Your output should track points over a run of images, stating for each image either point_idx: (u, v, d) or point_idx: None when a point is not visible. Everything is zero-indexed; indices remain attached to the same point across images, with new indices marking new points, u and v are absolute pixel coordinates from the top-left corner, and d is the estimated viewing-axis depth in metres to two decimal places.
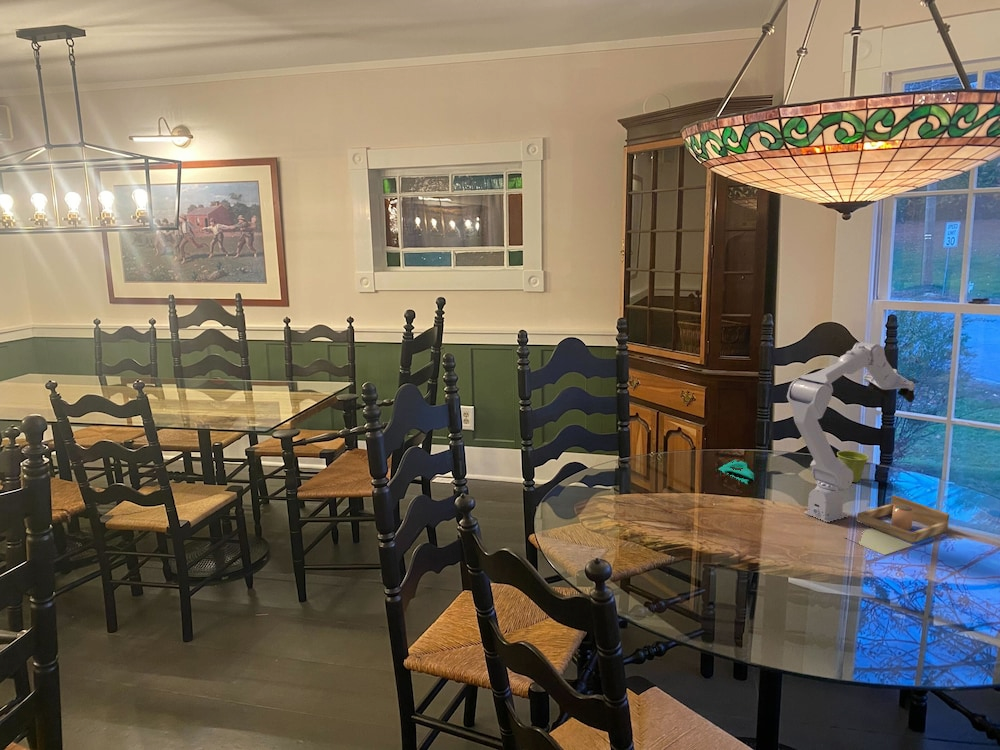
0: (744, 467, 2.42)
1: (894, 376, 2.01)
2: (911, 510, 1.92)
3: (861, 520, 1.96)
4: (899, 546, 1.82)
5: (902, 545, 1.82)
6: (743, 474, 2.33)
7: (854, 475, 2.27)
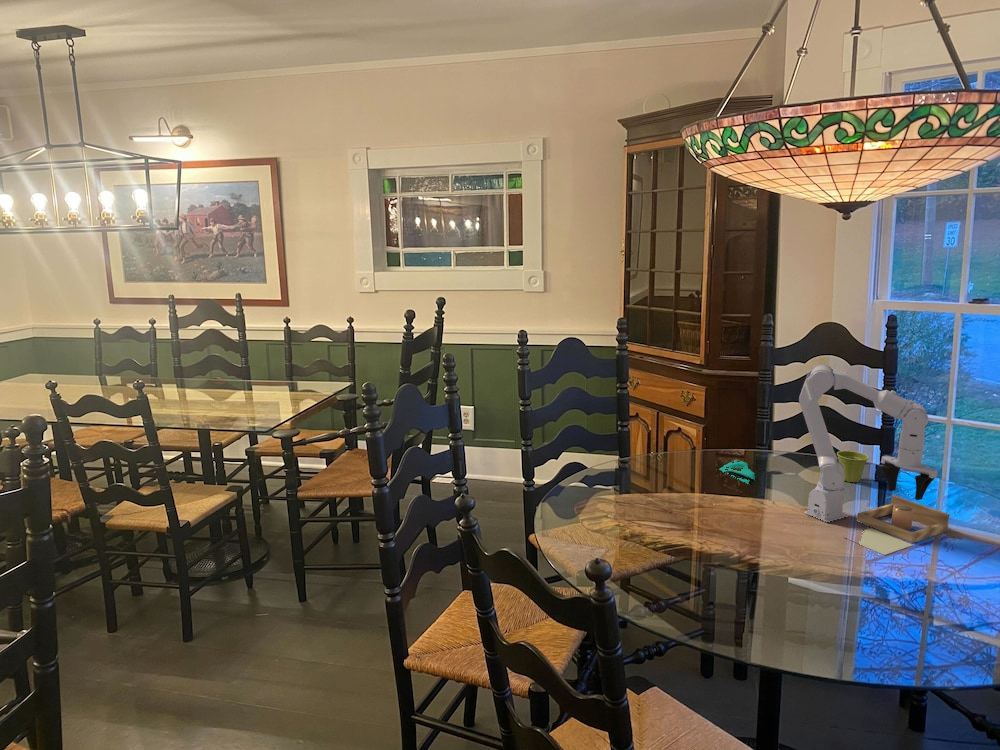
0: (745, 467, 2.42)
1: (920, 459, 1.88)
2: (911, 510, 1.92)
3: (861, 520, 1.96)
4: (899, 546, 1.82)
5: (902, 545, 1.82)
6: (744, 474, 2.33)
7: (854, 475, 2.27)
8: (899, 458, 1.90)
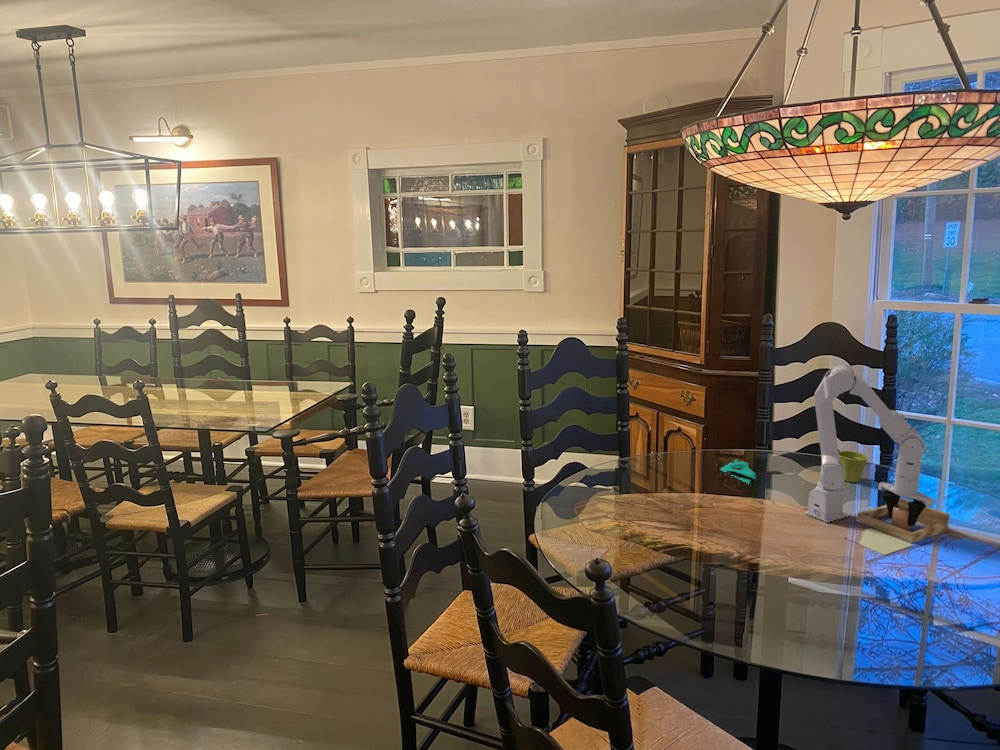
0: (745, 467, 2.42)
1: (917, 486, 1.90)
2: None
3: (861, 520, 1.96)
4: (899, 546, 1.82)
5: (902, 545, 1.82)
6: (745, 474, 2.33)
7: (854, 475, 2.27)
8: (896, 485, 1.92)
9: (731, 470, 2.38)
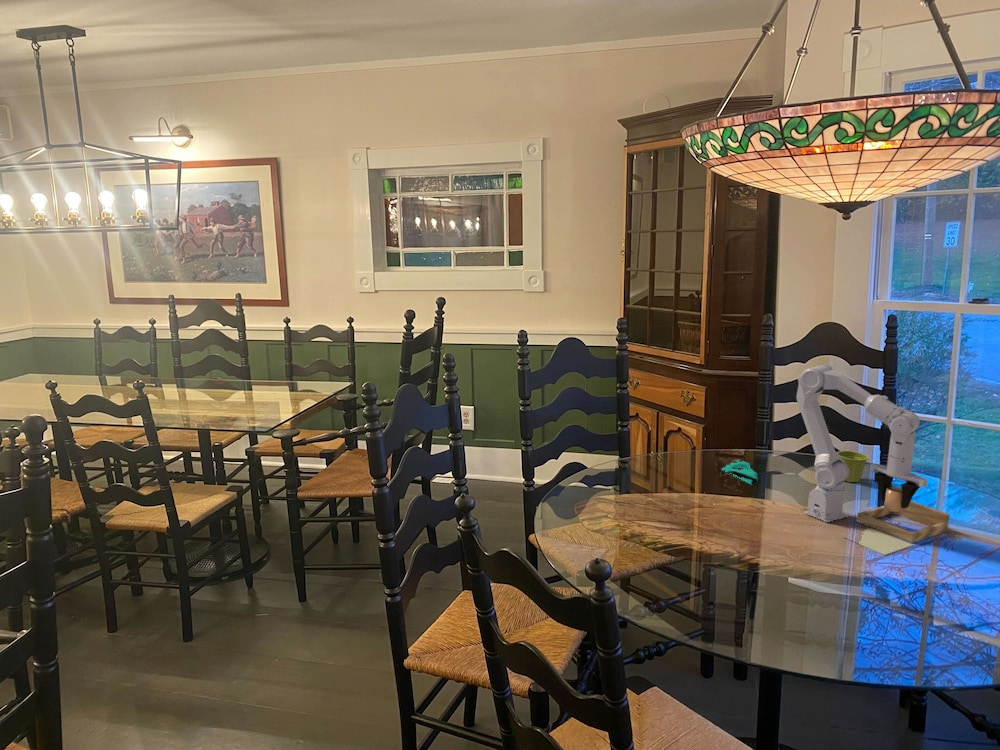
0: (747, 467, 2.42)
1: (910, 467, 1.84)
2: None
3: (861, 520, 1.96)
4: (899, 546, 1.82)
5: (902, 545, 1.82)
6: (747, 474, 2.33)
7: (854, 475, 2.27)
8: (889, 467, 1.87)
9: (733, 470, 2.38)
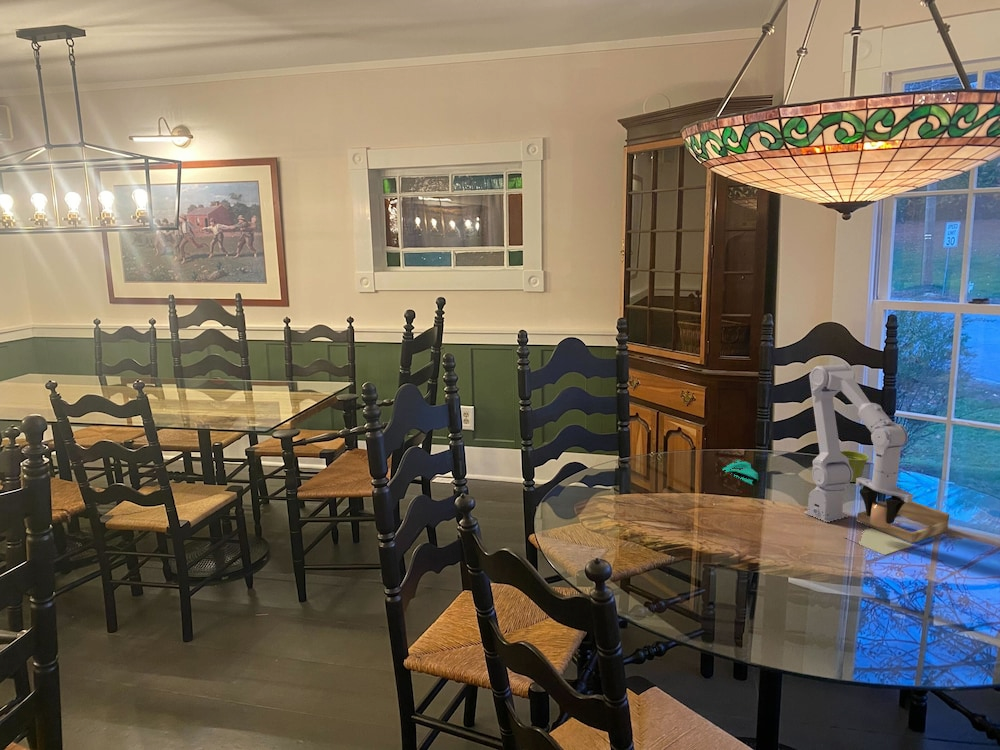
0: (748, 467, 2.42)
1: (895, 482, 1.79)
2: None
3: (861, 520, 1.96)
4: (899, 546, 1.82)
5: (902, 545, 1.82)
6: (747, 474, 2.33)
7: (854, 475, 2.27)
8: (873, 481, 1.82)
9: (733, 470, 2.38)
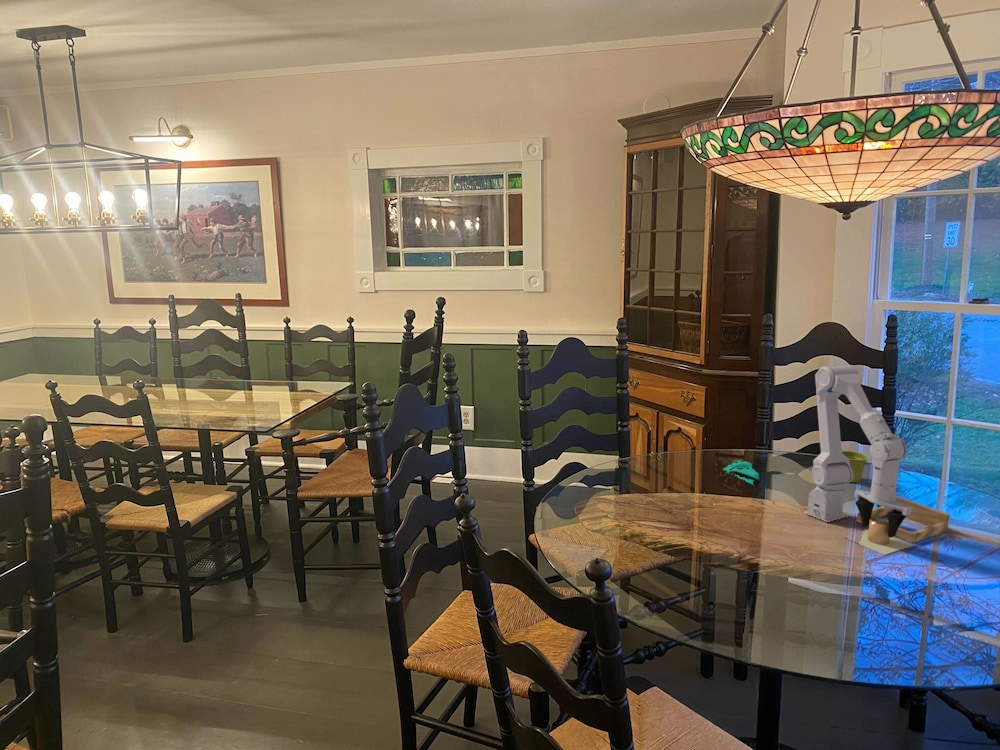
0: (749, 467, 2.42)
1: (894, 495, 1.80)
2: (888, 523, 1.82)
3: (861, 520, 1.96)
4: (899, 546, 1.82)
5: (902, 545, 1.82)
6: (748, 474, 2.33)
7: (854, 475, 2.27)
8: (872, 493, 1.82)
9: (734, 470, 2.38)
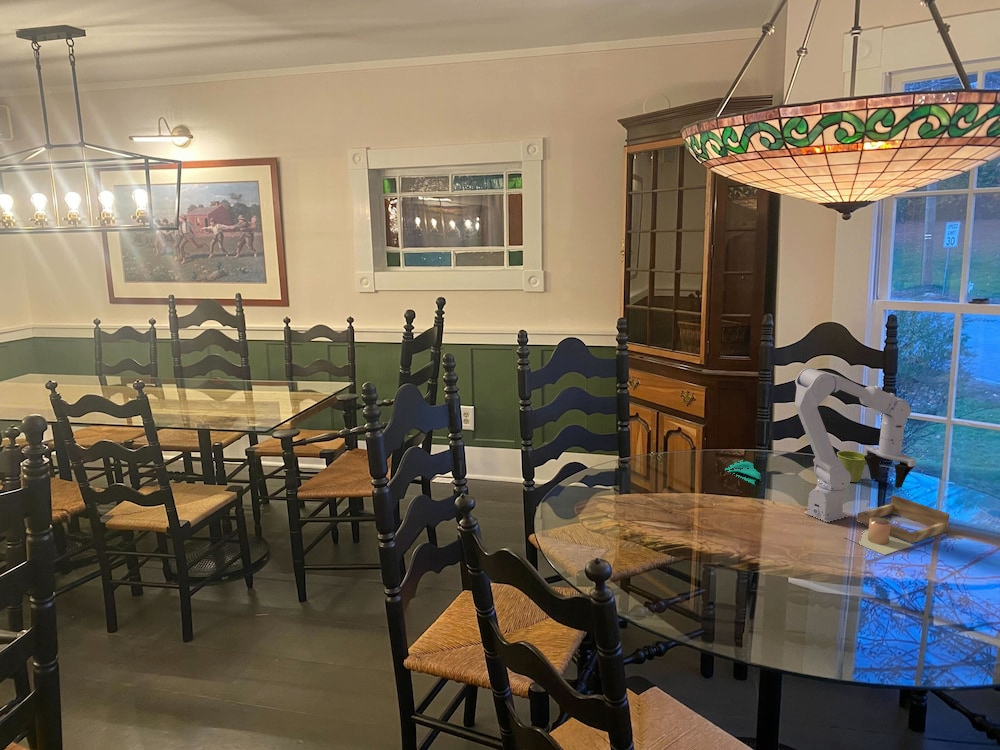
0: (750, 467, 2.42)
1: (900, 448, 1.97)
2: (888, 523, 1.82)
3: (861, 520, 1.96)
4: (899, 546, 1.82)
5: (902, 545, 1.82)
6: (750, 474, 2.33)
7: (854, 475, 2.27)
8: (880, 448, 1.99)
9: (736, 470, 2.38)
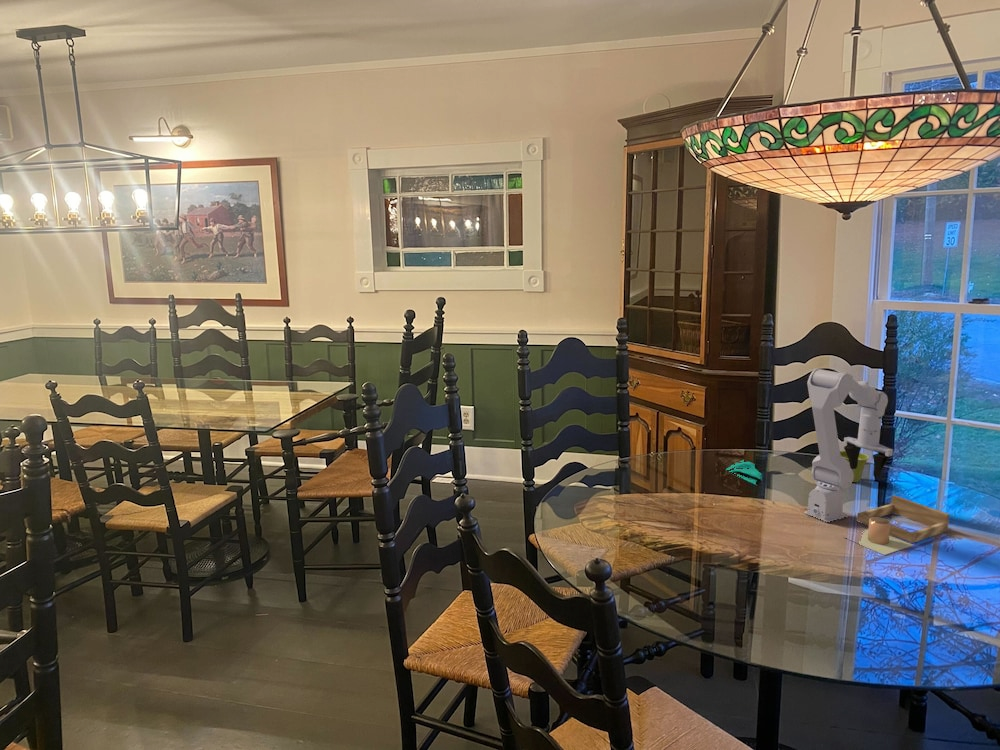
0: (752, 467, 2.42)
1: (878, 439, 2.06)
2: (888, 523, 1.83)
3: (861, 520, 1.96)
4: (899, 546, 1.82)
5: (902, 545, 1.82)
6: (751, 474, 2.33)
7: (854, 475, 2.27)
8: (859, 438, 2.08)
9: (737, 470, 2.38)
